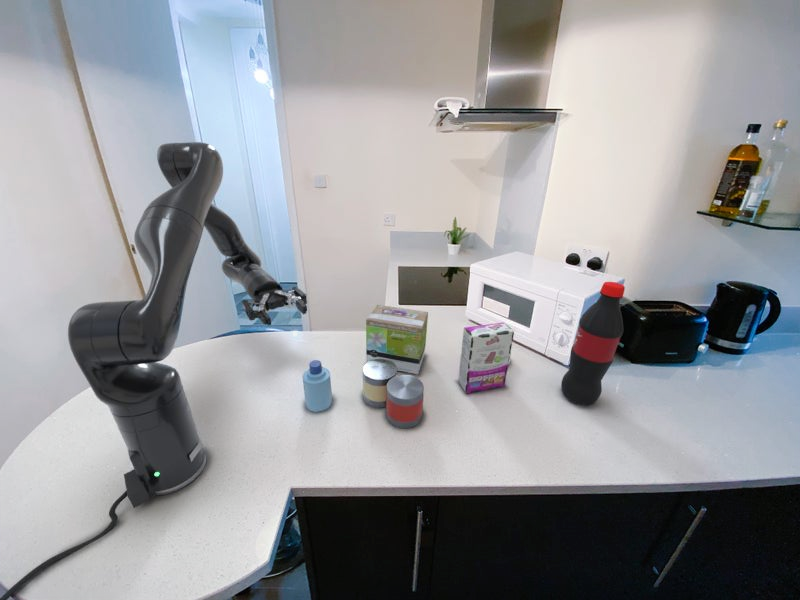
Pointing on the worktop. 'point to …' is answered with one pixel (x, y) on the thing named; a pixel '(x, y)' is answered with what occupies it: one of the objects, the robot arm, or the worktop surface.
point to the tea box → (397, 337)
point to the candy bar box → (485, 356)
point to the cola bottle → (594, 346)
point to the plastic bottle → (317, 387)
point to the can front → (404, 401)
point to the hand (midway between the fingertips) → (287, 316)
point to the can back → (377, 381)
